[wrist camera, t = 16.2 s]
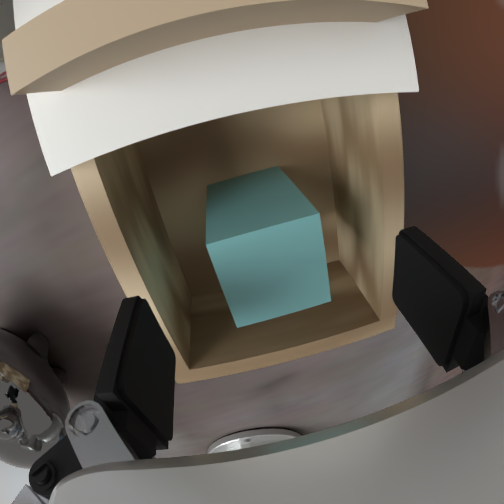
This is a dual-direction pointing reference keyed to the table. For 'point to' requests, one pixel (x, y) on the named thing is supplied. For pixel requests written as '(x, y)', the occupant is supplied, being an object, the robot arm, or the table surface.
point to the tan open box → (194, 225)
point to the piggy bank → (29, 400)
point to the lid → (193, 63)
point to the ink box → (5, 31)
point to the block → (265, 246)
